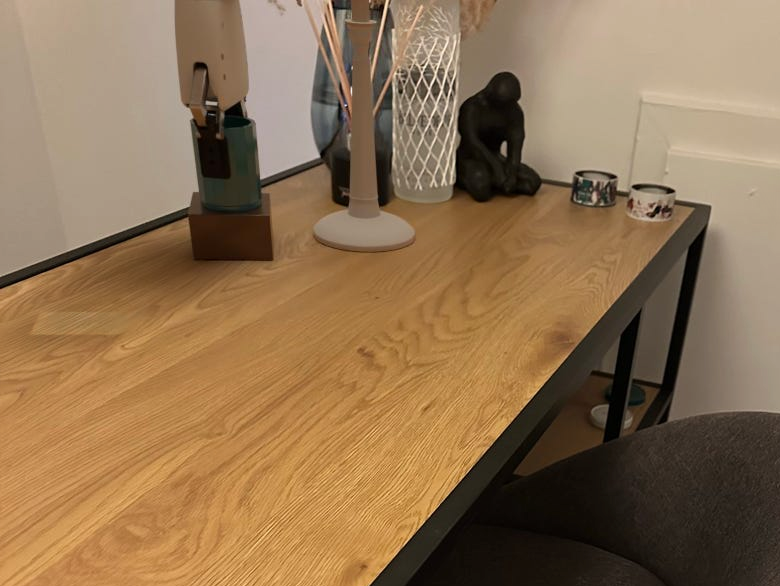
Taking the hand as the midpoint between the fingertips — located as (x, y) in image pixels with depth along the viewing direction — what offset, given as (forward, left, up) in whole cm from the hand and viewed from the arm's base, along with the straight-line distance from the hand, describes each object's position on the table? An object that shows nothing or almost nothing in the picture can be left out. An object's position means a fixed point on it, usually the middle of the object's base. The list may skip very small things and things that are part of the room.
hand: (227, 167), depth 106 cm
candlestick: (+14, +9, -9) cm, 19 cm away
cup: (0, 0, -4) cm, 4 cm away
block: (0, 0, -9) cm, 9 cm away
